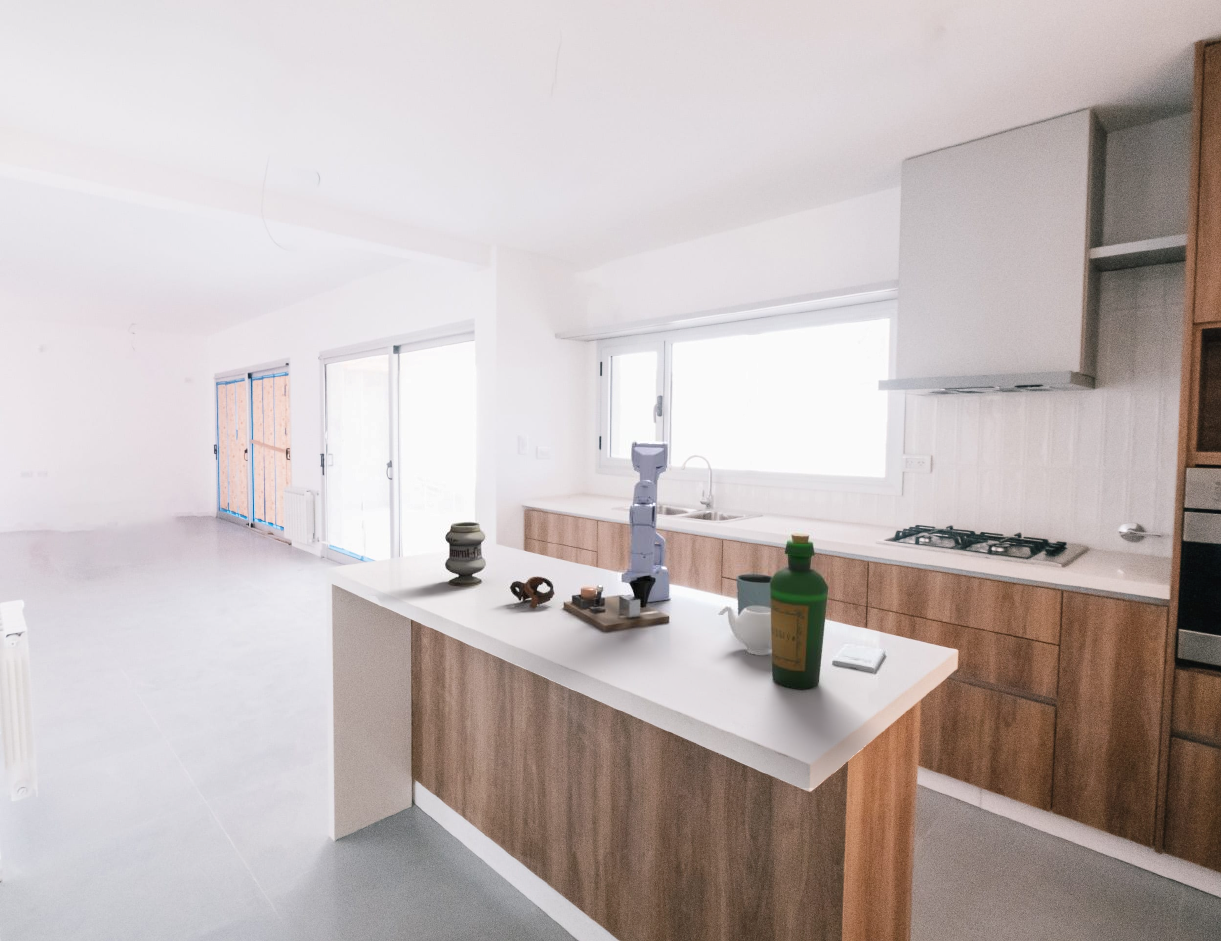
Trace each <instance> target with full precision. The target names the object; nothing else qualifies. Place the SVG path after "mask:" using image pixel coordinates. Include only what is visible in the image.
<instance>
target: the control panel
mask: <svg viewBox="0 0 1221 941" xmlns="http://www.w3.org/2000/svg"><path fill="white" fill-rule="evenodd" d="M596 595H597V593H596ZM619 596H624V594H618V595H611V596H604V597H603V596H601V601H600V603H601V604H602V606H601V607H593V604H596V603H595V602H596V598H594V599H586V600H584V599H582V598H581V593H578V594H572V595H571V600H570V601H564V602H563V609H565V610H567V611H569V612H571V613H572V614H573V615H575V616H577V617H579V618H580V619H582V620H584V621H585V622H586V623H589V624H590V625H592V626H594V627H596V628H597V629H599V630H601V631H603V632H605V633H607V632H614V631H620V630H628V629H632V628H639V627H645V626H654V625H660V624H666V622H667V623H670V615H668V614H665V613H663V612H661V611H659V610H656V609H655V608H652V607H650V606H648V605H646V607H644V608H642V607H640V617H633V618H628V617H626V616H624V615H623V614H621V613H619Z"/></svg>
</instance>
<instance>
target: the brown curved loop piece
mask: <svg viewBox="0 0 1221 941" xmlns="http://www.w3.org/2000/svg"><path fill="white" fill-rule="evenodd" d="M544 583H545V584H546V586H547V587H549V590H548V591H545V592H542V591H540V590H538V588H539V587H540V586H541V585H543V584H544ZM509 589H510V592H511V593H512V595H513V596H515V597H516V598H517V599H518V601H520V602H521V601H522V602H525V601H526V600H528V599H531V600H530V602H529V607H530V608H532V609H536V607H537V606H540V605H542V604H545V603H548V602H550V601H551V599H553V596H554V595H555V590H554V585H553V582H552V581H550V580H549V579H547V578H546V577H542V576H532V577H529V579H527V581H526V582H523V581H519V580H516V581H512V583H511V584H510V587H509Z"/></svg>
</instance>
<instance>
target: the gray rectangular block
mask: <svg viewBox="0 0 1221 941" xmlns="http://www.w3.org/2000/svg"><path fill="white" fill-rule="evenodd" d="M623 595H624V594H623ZM619 613H621V614H623V615H624V616H626V617H628V618H633V617H640V599H638V598H636V597H634V596H631V595H630V594H626V595H624V596H619Z"/></svg>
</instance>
